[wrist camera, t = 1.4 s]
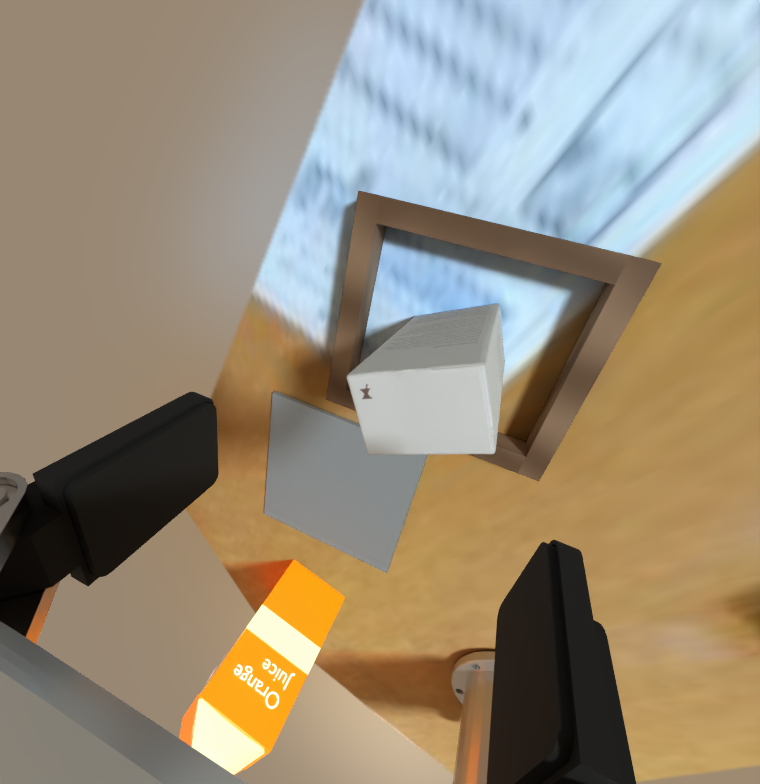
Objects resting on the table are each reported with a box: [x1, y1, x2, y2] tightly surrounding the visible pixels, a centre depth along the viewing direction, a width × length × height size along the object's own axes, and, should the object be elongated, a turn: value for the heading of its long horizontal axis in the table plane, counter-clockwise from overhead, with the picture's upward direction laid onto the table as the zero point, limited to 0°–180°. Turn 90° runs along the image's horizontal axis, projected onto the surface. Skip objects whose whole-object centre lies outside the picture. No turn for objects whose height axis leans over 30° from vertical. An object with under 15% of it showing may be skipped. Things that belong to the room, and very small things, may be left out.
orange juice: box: [179, 560, 345, 775], centre depth 36 cm, size 8×9×20 cm
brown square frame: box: [326, 191, 662, 481], centre depth 24 cm, size 15×17×2 cm
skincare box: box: [346, 304, 505, 455], centre depth 20 cm, size 6×4×12 cm
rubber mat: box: [264, 391, 428, 573], centre depth 35 cm, size 16×15×1 cm
